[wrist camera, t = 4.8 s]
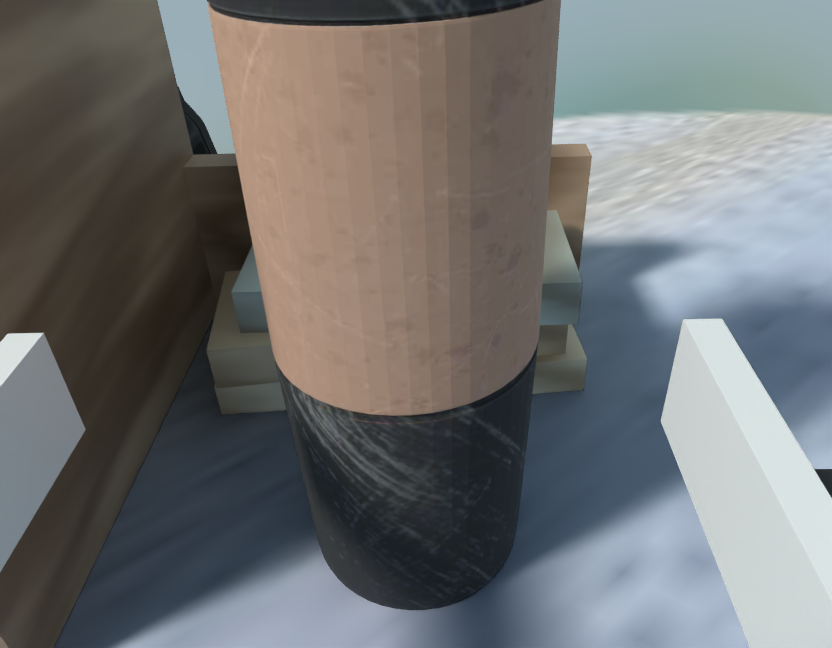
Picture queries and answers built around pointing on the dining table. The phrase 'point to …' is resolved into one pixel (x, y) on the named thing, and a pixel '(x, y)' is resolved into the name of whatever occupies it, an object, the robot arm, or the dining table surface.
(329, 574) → the dining table surface
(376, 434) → the travel mug
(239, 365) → the offcut stack
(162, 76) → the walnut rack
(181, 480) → the dining table surface
